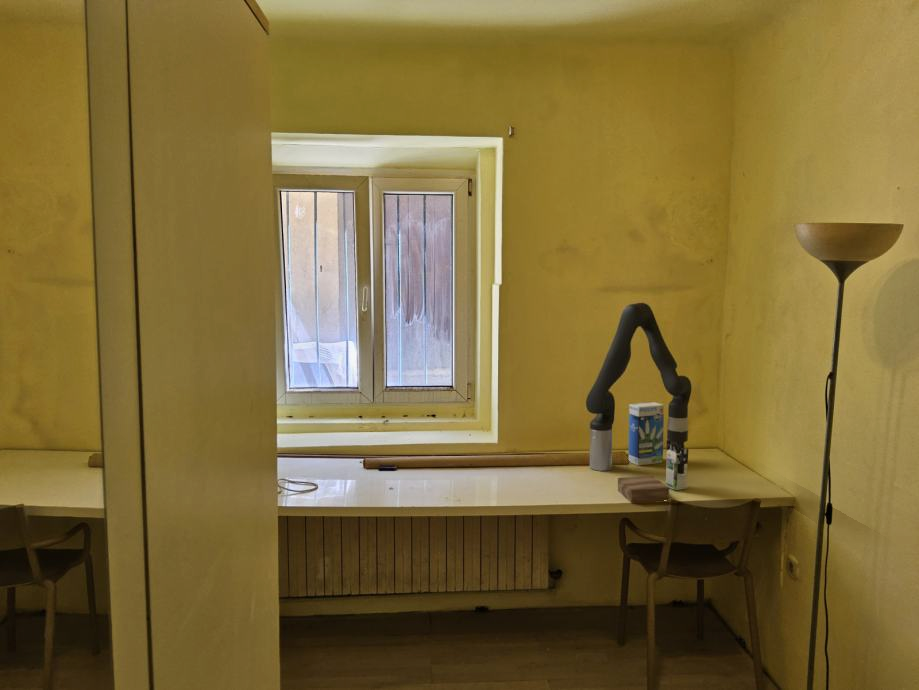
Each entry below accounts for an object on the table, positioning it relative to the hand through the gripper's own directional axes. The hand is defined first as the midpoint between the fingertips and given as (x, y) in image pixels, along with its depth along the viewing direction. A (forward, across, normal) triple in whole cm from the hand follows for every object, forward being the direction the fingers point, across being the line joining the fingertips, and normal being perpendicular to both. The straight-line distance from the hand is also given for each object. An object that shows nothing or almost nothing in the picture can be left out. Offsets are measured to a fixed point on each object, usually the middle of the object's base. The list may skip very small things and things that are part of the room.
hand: (676, 470), depth 249 cm
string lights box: (+7, -35, +2) cm, 36 cm away
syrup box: (+7, 0, 0) cm, 7 cm away
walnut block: (+7, +6, -16) cm, 18 cm away
